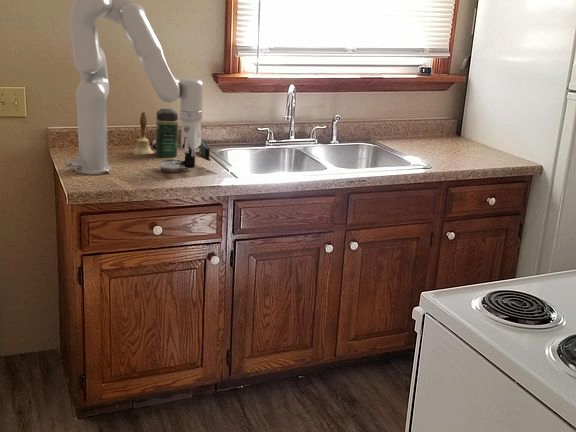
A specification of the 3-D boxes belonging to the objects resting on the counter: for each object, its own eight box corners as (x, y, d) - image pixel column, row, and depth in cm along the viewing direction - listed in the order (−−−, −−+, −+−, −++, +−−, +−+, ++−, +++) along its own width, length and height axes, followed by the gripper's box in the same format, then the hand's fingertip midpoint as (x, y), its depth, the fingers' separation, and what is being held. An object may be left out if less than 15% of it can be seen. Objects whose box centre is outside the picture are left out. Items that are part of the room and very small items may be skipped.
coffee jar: (178, 160, 263) (179, 112, 258) (157, 160, 261) (157, 111, 255) (175, 154, 272) (176, 107, 266) (155, 154, 270) (155, 106, 264)
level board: (158, 184, 232) (158, 180, 231) (138, 173, 243) (138, 169, 242) (217, 177, 245) (218, 173, 245) (196, 167, 256) (196, 163, 256)
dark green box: (198, 140, 279) (204, 148, 265) (205, 140, 279) (212, 148, 266) (198, 152, 280) (204, 160, 266) (205, 152, 281) (212, 160, 267)
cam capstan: (169, 173, 239) (169, 164, 238) (156, 169, 243) (156, 160, 242) (200, 167, 250) (201, 158, 249) (187, 163, 254) (187, 154, 253)
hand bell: (140, 149, 276) (140, 109, 271) (157, 153, 273) (158, 112, 268) (127, 153, 269) (127, 112, 264) (145, 156, 266) (145, 115, 261)
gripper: (195, 120, 234) (194, 173, 239) (206, 113, 248) (205, 163, 253) (174, 118, 234) (173, 171, 240) (186, 111, 249) (185, 161, 254)
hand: (189, 166), depth 247 cm, fingers closed
